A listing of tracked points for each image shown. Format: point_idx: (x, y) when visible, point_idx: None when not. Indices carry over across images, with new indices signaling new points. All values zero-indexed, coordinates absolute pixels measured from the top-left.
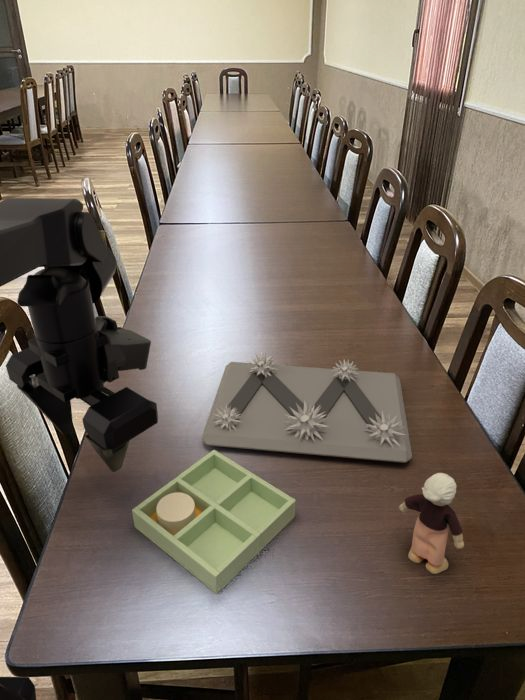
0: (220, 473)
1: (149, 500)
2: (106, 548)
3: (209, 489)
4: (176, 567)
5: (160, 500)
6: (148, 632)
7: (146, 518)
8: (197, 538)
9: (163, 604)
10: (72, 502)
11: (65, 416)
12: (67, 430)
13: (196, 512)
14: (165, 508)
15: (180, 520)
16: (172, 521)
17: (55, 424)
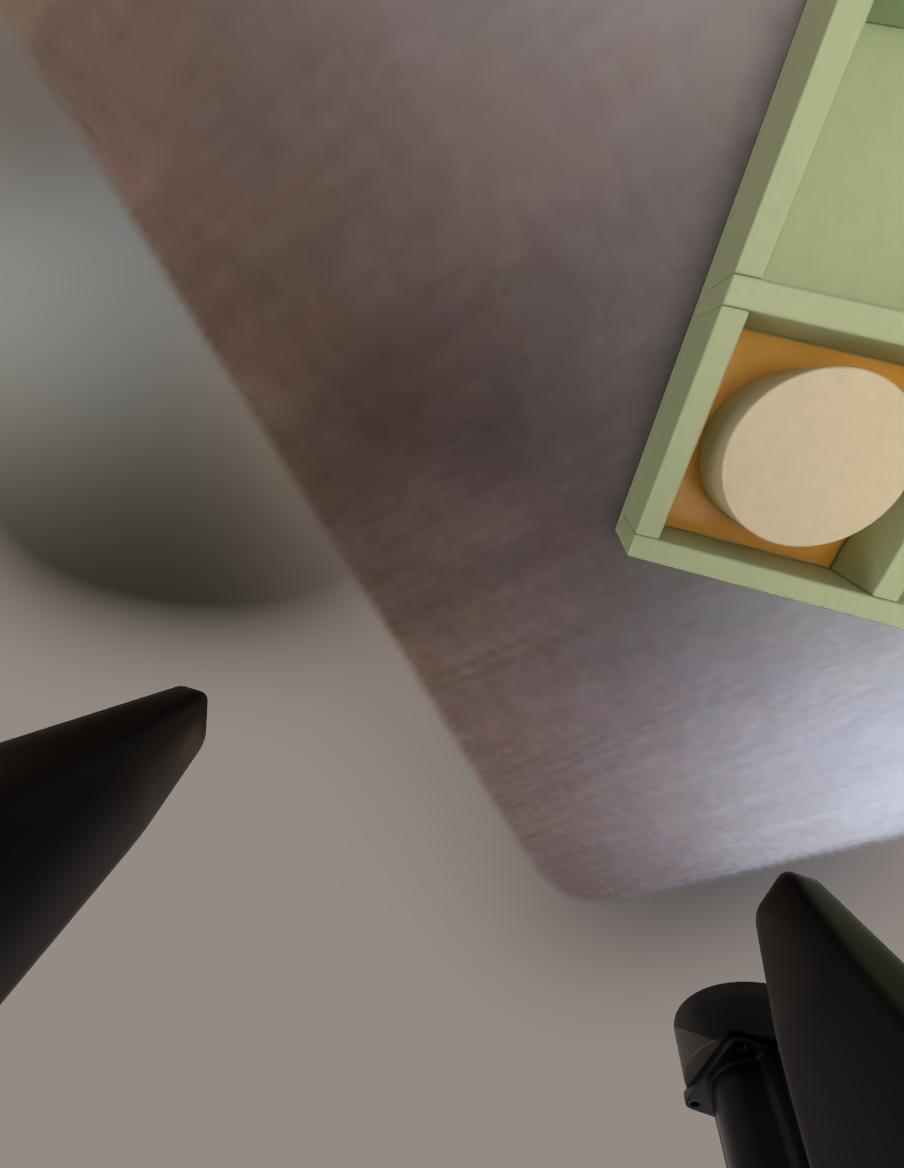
0: (887, 43)
1: (673, 481)
2: (577, 632)
3: (860, 201)
4: None
5: (726, 462)
6: (847, 792)
7: (712, 567)
8: None
9: (856, 720)
10: (351, 532)
11: (71, 830)
12: (184, 742)
13: None
14: (773, 492)
15: (875, 520)
16: (837, 538)
17: (98, 884)
